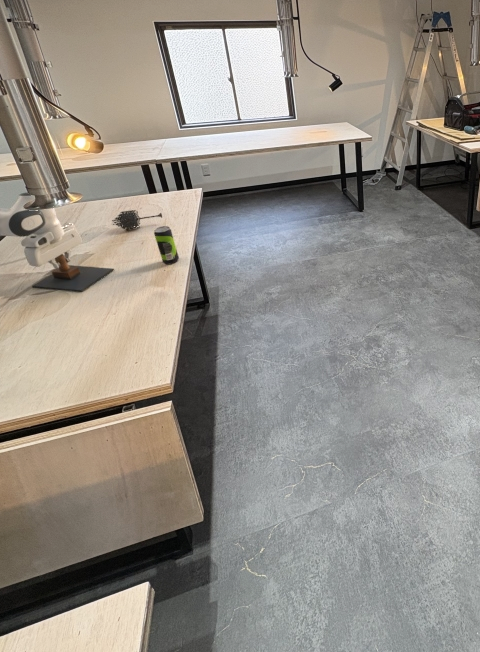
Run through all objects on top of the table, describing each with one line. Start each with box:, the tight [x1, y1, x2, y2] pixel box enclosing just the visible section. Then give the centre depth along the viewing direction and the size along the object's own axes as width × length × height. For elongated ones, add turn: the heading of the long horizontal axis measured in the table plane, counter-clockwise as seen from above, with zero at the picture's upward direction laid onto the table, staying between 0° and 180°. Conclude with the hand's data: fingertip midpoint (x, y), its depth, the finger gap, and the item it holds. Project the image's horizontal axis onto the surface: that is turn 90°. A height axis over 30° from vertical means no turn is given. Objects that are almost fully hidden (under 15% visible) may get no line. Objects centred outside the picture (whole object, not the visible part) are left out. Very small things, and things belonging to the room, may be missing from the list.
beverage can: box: [153, 225, 180, 265], centre depth 170 cm, size 6×6×15 cm
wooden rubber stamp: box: [50, 253, 80, 280], centre depth 160 cm, size 8×4×9 cm, turn 77°
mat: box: [31, 264, 115, 293], centre depth 162 cm, size 22×16×1 cm
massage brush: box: [111, 209, 163, 231], centre depth 203 cm, size 9×22×9 cm, turn 113°
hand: (62, 264), depth 160 cm, fingers closed on wooden rubber stamp, 3 cm apart
